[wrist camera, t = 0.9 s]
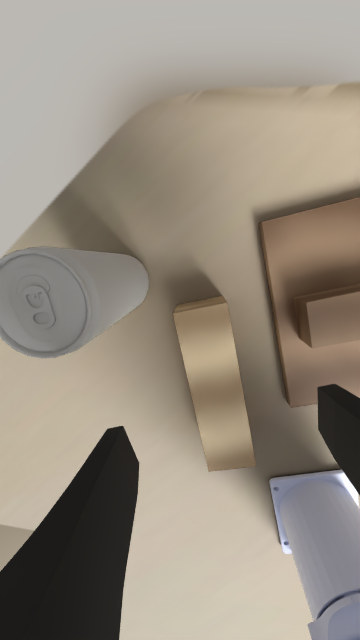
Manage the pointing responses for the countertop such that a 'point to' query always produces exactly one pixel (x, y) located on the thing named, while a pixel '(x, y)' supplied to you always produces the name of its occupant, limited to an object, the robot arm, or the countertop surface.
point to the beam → (215, 382)
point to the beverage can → (65, 297)
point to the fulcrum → (316, 297)
